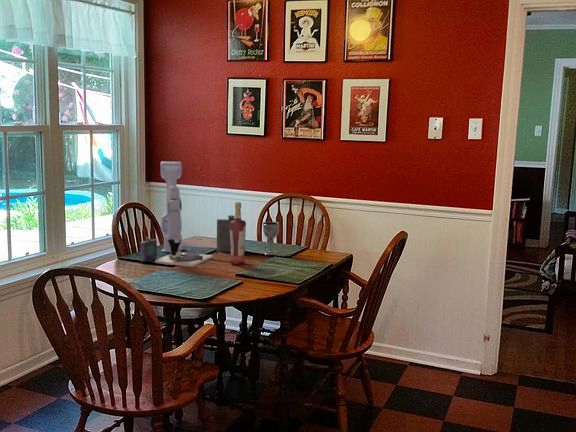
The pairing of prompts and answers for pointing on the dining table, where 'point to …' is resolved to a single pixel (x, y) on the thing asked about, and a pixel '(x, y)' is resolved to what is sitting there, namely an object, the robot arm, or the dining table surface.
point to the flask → (224, 234)
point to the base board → (184, 263)
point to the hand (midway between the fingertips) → (174, 255)
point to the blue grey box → (148, 249)
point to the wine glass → (270, 234)
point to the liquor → (237, 237)
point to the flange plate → (184, 256)
